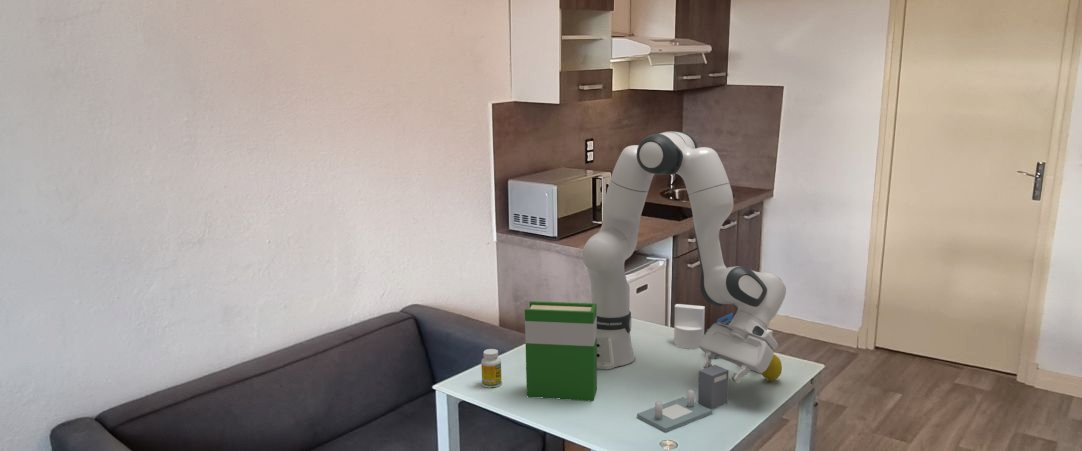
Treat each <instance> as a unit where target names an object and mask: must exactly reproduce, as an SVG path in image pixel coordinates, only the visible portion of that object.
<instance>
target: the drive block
mask: <svg viewBox="0 0 1082 451" xmlns="http://www.w3.org/2000/svg"><path fill="white" fill-rule="evenodd" d="M697 389H698V391H697V403H698V404H700V405H702V406H704V407H707V408H709V409H711V410H712V411H713V410H714V409H717V408H720V407H721V406H723V405H727V404H728V399H729V398H728V395H729V369H726V368H725V367H722V366H719V365H716V364H712V366H710V367H707V368H705V369H704V368H702V369H699V370H698V387H697Z"/></svg>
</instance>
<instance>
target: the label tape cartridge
mask: <svg viewBox="0 0 1082 451" xmlns="http://www.w3.org/2000/svg"><path fill="white" fill-rule="evenodd" d="M733 318H734V312H733V311H732V312H731V313H729V314H726V315H724V316H721V317H719V318H718V319H716V323H718V322H723V323H725V324H730V323H731V321H732V319H733ZM717 325H718V324H717ZM709 329H710V328H707V329H706V330H705V333H706V332H707V331H708V330H709ZM704 353H705V352H704ZM704 355H705V357H706V353H705V354H704ZM717 359H719V358H718V357H715V358H714V359H713V360H717Z"/></svg>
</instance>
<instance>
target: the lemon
mask: <svg viewBox="0 0 1082 451" xmlns="http://www.w3.org/2000/svg"><path fill="white" fill-rule="evenodd" d="M782 370H783V366H782V361H781V359H780V357H778V356H777V355H776V354H774V355H773V358H772V360H771V362H770V364H769V366H768V368H767V369H766V371H764V372H762V373H761V375H762V376H763V378H765V379H766V380H768V382H773V381H774V380H776V379H779V377H780V376H781V374H782Z"/></svg>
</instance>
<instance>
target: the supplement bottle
mask: <svg viewBox="0 0 1082 451" xmlns="http://www.w3.org/2000/svg"><path fill="white" fill-rule="evenodd" d="M482 356H483V358H482V359H481V362H480V363H481V384H482V386H483V385H484V386H486V387H496V388H498V387H500V386H501V385H502V381H503V380H502V360H501V358H500V357H499V350H498V349H496V348H487V349H485V350H484V351H483V355H482ZM499 385H500V386H499ZM484 386H483V387H484ZM497 386H498V387H497ZM486 387H485V388H486Z"/></svg>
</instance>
